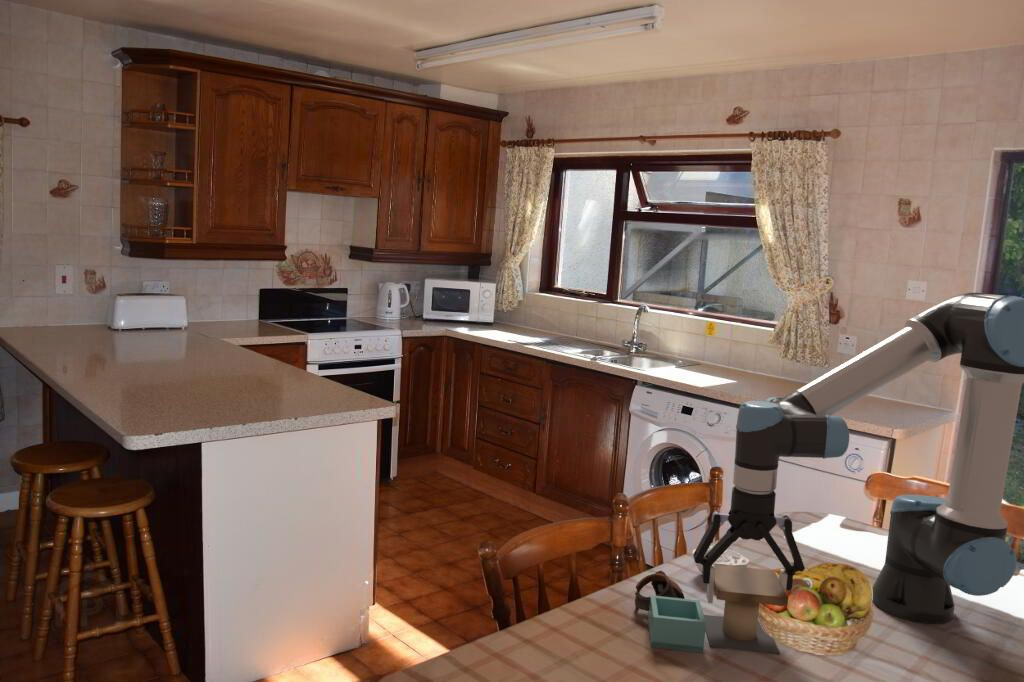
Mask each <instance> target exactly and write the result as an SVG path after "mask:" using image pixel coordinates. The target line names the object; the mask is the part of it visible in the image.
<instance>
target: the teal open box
mask: <svg viewBox="0 0 1024 682" xmlns="http://www.w3.org/2000/svg"><path fill="white" fill-rule="evenodd" d="M649 597H650V606H649V611H648V617H647V618H648V619H647V620H648V621H647V626H648V627H647V628H648V634H649V641H650V642H649V643H650V647H651V648H656V649H665V650H677V651H684V652H693V653H702V654H703V653H704V648H705V637H706V630H705V629H706V621H705V617H704V615H705V613H704V611H703V608H702V603H701V601H700V600H699V599H698V600H697V599H689V598H684V599H681V598H672V597H662V596H656V595H650V596H649Z"/></svg>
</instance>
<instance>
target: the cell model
mask: <svg viewBox="0 0 1024 682" xmlns="http://www.w3.org/2000/svg"><path fill="white" fill-rule="evenodd" d="M713 547H714V545H710V546H709V548H708V550H707V552H706V554H707V553H708V552H709V551H710V550H711V549H712V548H713ZM695 550H696V548H693V549H692V551H691V552H692V556H693V554H694V552H695ZM706 554H705V555H706ZM692 558H694V556H693V557H692ZM693 560H694V559H693ZM750 562H751V561H750V559H749V558H747V557H746V556H744V555H742V554H741V553H738V552H736V551H734V550H730V549H729V548H727V549H726V551H725V552H724V553H723V554H722V555H721V556H720V557H719V558H718V559H717V560H716V561H715V562H714V563H713V564H714V565H724V566H735V567H745V568H748V567H749V564H750ZM694 563H695V566H696V568H697V569H698V571H699V573H701V574H702V571H703V565H702V564H700V563H696V562H695V560H694Z"/></svg>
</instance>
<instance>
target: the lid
mask: <svg viewBox="0 0 1024 682" xmlns="http://www.w3.org/2000/svg"><path fill="white" fill-rule="evenodd" d="M714 567H715V578H714V591H713V592H714V593H715V594H714V595H715V597H716V600H717V601H718V600H719V601H725V600H727V601H738V602H748V603H758V604H759V605H771V606H778V607H779V606H785V607H788V602H789V597H788V594H787V591H786V592H785V591H784V589H783V587H782V585H781V583H780V582H779V576H778V575H777V574H776V572H775V570H774V569H766V568H765V569H763V568H753V567H747V568H745V567H735V566H724V565H714ZM773 571H774V572H773Z"/></svg>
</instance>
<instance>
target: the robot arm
mask: <svg viewBox="0 0 1024 682" xmlns="http://www.w3.org/2000/svg"><path fill="white" fill-rule="evenodd" d="M959 354H961V356H960V361H959V362H960V363H959V367H960V368H961V370H963V372H964V373H965V374H966V384H965V388H964V390H965V391H964V396H963V402H962V408H961V413H960V420H959V427H958V432H957V437H956V438H957V439H956V445H955V450H954V456H953V461H952V462H953V463H952V469H951V474H950V480H949V488H948V493H947V498H943V497H939V496H932V495H922V494H900V495H897V496H896V497H894V498H893V501H892V505H891V509H890V511H889V513H890V517H889V526H888V527H889V528H888V535H887V543H886V553H885V559H884V565H883V567H882V568H881V571H879V574H878V575H877V578H876V580H875V582H874V583H873V586H872V588H871V590H872V589H873V601H872V603H873V604H874V605H876V606H877V607H878V608H879V609H881V610H883V611H884V612H886V613H888V614H890V615H893V616H895V617H898V618H901V619H905V620H908V621H913V622H916V623H917V622H918V623H925V624H943V623H944V624H945V623H949V622H951V621H952V620H953V618H954V613H955V602H954V598H953V592H952V589H951V587H952V588H954V589H956V590H959V591H961V592H962V593H964V594H967V595H970V596H974V597H975V596H976V597H982V596H983V597H984V596H989V595H991V594H994V593H996V592H998V590H1000V588H1004V587H1005V586H1006V585H1008V583H1009V582H1010V581H1011V579H1012V578H1013V577H1014V575H1015V572H1016V568H1017V555H1016V553H1015V551H1014V550H1013V548H1012V546H1011V544H1010V543H1008V542H1007V541H1006V538H1007V533H1008V532H1007V531H1008V527H1009V526H1008V525H1009V523H1008V521H1007V520H1006V519H1005V518H1004V517H1003V515H1002V514H1001V508H1002V503H1003V502H1002V501H1003V497H1004V491H1005V484H1006V478H1007V473H1008V468H1009V461H1010V455H1011V450H1012V444H1013V439H1014V432H1015V427H1016V422H1017V421H1016V420H1017V414H1018V409H1019V402H1020V397H1021V392H1022V387H1023V386H1022V385H1023V384H1024V297H1021V296H1016V295H1002V294H1001V295H1000V294H992V293H991V294H990V293H983V292H965V293H960V294H957V295H953V296H951V297H948V298H947V299H946V298H945V300H942V301H940V302H937V303H936V304H934V305H932V306H931V307H928V308H927V309H925V310H923V311H921V312H920V313H918V314H916V315H914V316H912V317H910V318H909V319H906V321H905V322H904V327H903V328H902V329H900V330H898V331H897V332H896V333H893V334H892V335H889V337H887V338H885V339H883V340H882V341H880V342H878V343H876V344H874V345H873V346H870V347H869V348H868V349H866V350H864V351H862V352H861V353H858V354H857V355H855V356H853V357H851V358H850V359H848V360H846V361H845V362H843V363H842V364H840V365H838V366H836V367H834V368H832V369H831V370H829V371H827V372H826V373H824V374H822V375H820V376H819V377H817V378H815V379H814V380H811V382H808V383H807V384H805V385H803V386H801V387H800V388H797V389H796V390H795V391H792V392H791V393H789V394H787V395H785V396H784V397H780V396H777V397H776V396H775V397H773V396H771V397H768V398H766V399H764V400H762V401H761V400H749V401H745V402H743V403H741V405H740V406H739V409H738V413H737V419H736V420H737V421H736V425H735V427H736V428H735V429H736V431H735V433H736V434H735V451H734V462H733V463H734V464H733V475H732V484H733V485H734V486H733V487H732V488H731V489H732V490H731V497H730V498H731V499H730V509H729V512H728V513H726V512H725V513H723V512H719V510H712V512H711V519H710V523H709V524H708V526H707V528H706V530H705V532H704V534H703V536H702V537H701V539H700V541H699V543H698V545H697V547H696V548H695V549H696V550H695V552H694V554H693V553H692V556H694V557H693V560H695V561H694V563H695V562H696V563H700V564H702V565H703V571H702V573H701V578H702V582H703V584H707V585H706V597H705V598H706V599H707V602H708V604H713V603H714V592H715V591H714V578H715V567H714V564H713V563H714V562H715V561H716V560H717V559H718V558H719V557H720V556H721V555H722V554H723V553H724V552H725V551H726V549H729V547H731V545H732V544H733V543H734V542H736V541H737V540H738V539H739V538H740V539H742V540H753V541H761V540H765V542H766V543H767V544H768V546H769V547H770V549H771V550H772V552H773V553H774V555H775V556H776V558H777V559H778V560H779V562H780V563H781V565H782V566H783V568H779V574H778V575H779V576H778V579H779V582H780V583H781V585H782V587H783V589H784V591H785V592H786V593H787V591H791V590H792V589H793V581H794V576H795V575H796V572H797V573H798V572H801V573H802V572H804V571H805V570H806V569H805V564H804V562H803V560H802V556H801V554H800V550H799V547H798V545H797V542H796V539H795V536H794V534H793V521H792V519H791V518H790V517H789V515H787V514H785V515H783V516H782V517H780V516H779V517H778V516H777V517H776V516H775V507H776V505H775V504H776V498H777V497H776V495H777V494H776V492H775V490H777V481H778V470H779V469H778V468H779V460H780V457H783V458H790V457H791V458H813V459H814V458H816V459H817V458H818V459H820V458H821V459H823V460H824V459H825V460H826V459H830V458H831V459H832V458H840V457H842V456H844V455H845V454H846V453H847V451H848V449H849V446H850V445H849V444H850V430H849V426H848V424H847V422H846V420H844V418H842V417H841V416H838V415H835V414H837V413H838V412H840V411H842V410H844V409H845V408H848V406H851V405H852V404H854V403H855V402H858V401H859V400H861V399H863V398H864V397H866V396H868V395H869V394H872V393H874V392H875V391H877V390H878V389H881V388H882V387H884V386H886V385H888V384H890V383H891V382H892V381H895V380H896V379H898V378H901V377H902V376H903V375H905V374H906V373H908V372H910V371H912V370H914V369H915V368H917V367H919V366H921V365H922V364H925V363H926V362H931V363H937V362H940V361H941V360H942V359H944V358H946V357H949V356H953V355H959ZM726 521H728V522H729V523H728V524H730V527H729V528H728V529H727V530H726V533H724V535H723V536H722V537H721V538H720V539H719V540H718V541H717V543H715V545H713V548H712V549H711V550H710V551H709V552H708V553H707V554H706V552H707V550H708V548H709V546H712V543H713V540H714V539H715V537H716V536H717V533H718V532H719V529H720V527H721V526H723V525H724V524H725V522H726ZM776 525H778V528H779V529H780V530H781V531H782V532H783V535H784V538H785V541H786V543H787V546H788V550H789V552H790V554H791V557H792V559H793V560H792V562H790V561H789V560H788V558H787V557H786V555H785V554H784V552H783V551H782V550H781V548H780V546H779V545H778V543H777V542H776V541H775V539H774V537H773V536H772V534H771V533H770V532H771V531H772V529H774V528H775V526H776ZM705 554H706V555H705Z"/></svg>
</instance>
